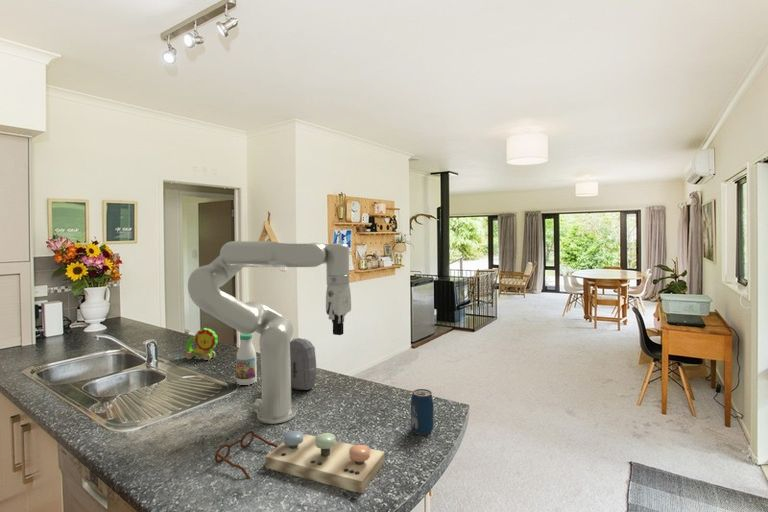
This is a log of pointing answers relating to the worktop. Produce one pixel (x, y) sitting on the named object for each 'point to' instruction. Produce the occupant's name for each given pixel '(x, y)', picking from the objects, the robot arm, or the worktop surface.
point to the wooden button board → (325, 464)
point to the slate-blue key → (293, 438)
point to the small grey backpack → (302, 364)
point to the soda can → (422, 411)
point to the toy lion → (202, 344)
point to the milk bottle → (246, 361)
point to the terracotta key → (359, 453)
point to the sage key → (325, 440)
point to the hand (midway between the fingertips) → (338, 334)
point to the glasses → (242, 447)
